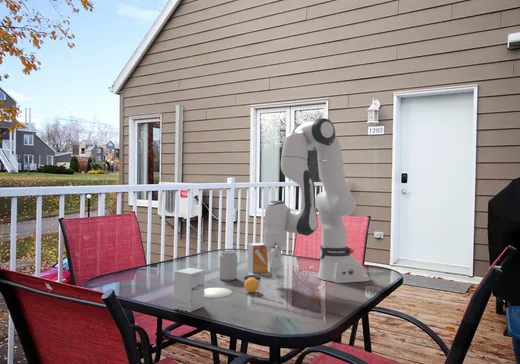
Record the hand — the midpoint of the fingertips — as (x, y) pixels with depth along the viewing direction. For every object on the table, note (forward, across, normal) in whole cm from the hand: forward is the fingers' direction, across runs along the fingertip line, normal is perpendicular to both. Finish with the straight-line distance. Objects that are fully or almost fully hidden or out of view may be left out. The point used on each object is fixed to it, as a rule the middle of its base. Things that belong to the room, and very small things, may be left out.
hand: (273, 276), depth 153 cm
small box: (+5, +30, +4) cm, 31 cm away
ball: (+2, -5, +9) cm, 10 cm away
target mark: (+6, -5, +23) cm, 24 cm away
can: (+6, +16, +18) cm, 25 cm away
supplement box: (+6, -22, +30) cm, 38 cm away
